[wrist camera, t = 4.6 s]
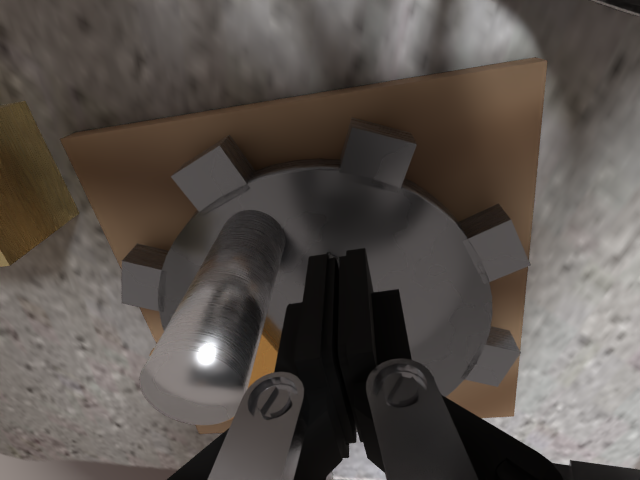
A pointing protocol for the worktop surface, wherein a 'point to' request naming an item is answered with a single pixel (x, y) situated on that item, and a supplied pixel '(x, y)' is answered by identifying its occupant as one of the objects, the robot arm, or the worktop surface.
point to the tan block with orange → (28, 186)
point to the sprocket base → (327, 143)
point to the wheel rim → (622, 5)
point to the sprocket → (292, 260)
